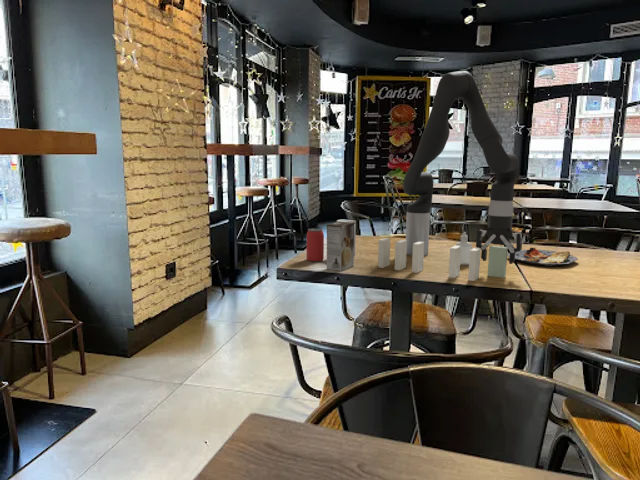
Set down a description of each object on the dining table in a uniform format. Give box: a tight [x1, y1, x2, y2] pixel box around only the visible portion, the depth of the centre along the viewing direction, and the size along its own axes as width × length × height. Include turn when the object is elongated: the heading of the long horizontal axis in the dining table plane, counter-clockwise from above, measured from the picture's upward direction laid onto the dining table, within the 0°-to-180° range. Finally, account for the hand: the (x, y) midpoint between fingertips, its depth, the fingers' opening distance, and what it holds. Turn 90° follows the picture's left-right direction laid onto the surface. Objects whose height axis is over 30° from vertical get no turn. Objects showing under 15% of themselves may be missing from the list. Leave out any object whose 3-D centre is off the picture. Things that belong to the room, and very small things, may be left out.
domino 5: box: [467, 247, 482, 282], centre depth 161 cm, size 6×2×10 cm, turn 148°
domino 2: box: [394, 239, 407, 271], centre depth 175 cm, size 6×2×10 cm, turn 147°
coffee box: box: [326, 221, 355, 272], centre depth 175 cm, size 9×6×16 cm
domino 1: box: [377, 237, 391, 269], centre depth 178 cm, size 6×2×10 cm, turn 148°
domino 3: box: [411, 242, 425, 274], centre depth 171 cm, size 6×2×10 cm, turn 148°
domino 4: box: [448, 244, 461, 279], centre depth 164 cm, size 6×2×10 cm, turn 148°
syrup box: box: [336, 218, 357, 257], centre depth 194 cm, size 6×6×14 cm
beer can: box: [306, 227, 325, 263], centre depth 187 cm, size 7×7×12 cm
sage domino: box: [487, 245, 509, 279], centre depth 165 cm, size 6×2×10 cm, turn 58°
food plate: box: [507, 247, 579, 267], centre depth 190 cm, size 25×23×4 cm
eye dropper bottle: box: [455, 231, 473, 266], centre depth 182 cm, size 4×6×12 cm
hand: (497, 262), depth 164 cm, fingers open, 8 cm apart
